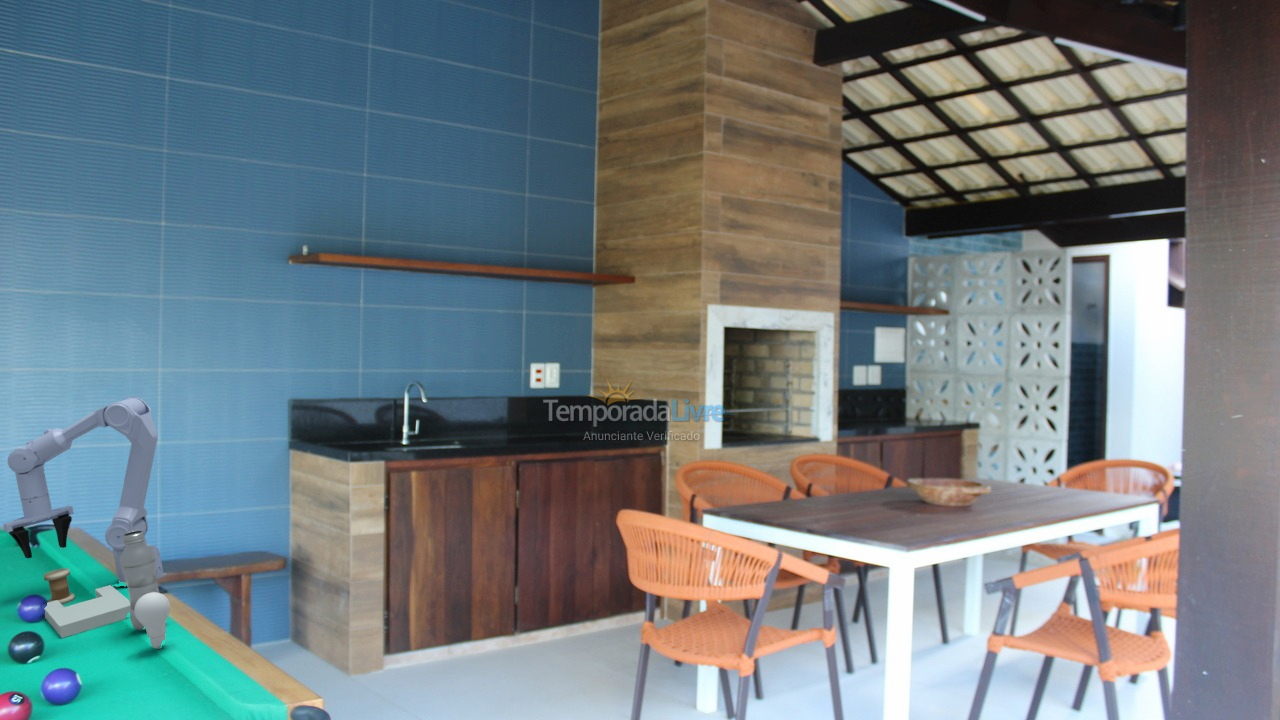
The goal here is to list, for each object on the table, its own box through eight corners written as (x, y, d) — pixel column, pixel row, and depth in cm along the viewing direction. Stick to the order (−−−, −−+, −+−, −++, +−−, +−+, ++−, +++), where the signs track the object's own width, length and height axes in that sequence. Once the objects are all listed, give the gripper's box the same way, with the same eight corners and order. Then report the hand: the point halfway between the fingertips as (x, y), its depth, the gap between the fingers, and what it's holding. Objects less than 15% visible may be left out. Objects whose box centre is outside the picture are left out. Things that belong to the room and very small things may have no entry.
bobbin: (80, 597, 230) (74, 568, 229) (61, 605, 225) (56, 576, 224) (62, 597, 231) (56, 568, 230) (43, 606, 226) (37, 576, 225)
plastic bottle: (154, 633, 198) (136, 537, 196) (125, 634, 200) (107, 539, 197) (175, 621, 204) (158, 527, 202) (147, 622, 206) (129, 529, 203)
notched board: (136, 615, 211) (133, 604, 211) (61, 638, 202) (59, 626, 202) (112, 595, 228) (110, 584, 228) (43, 615, 219) (40, 604, 219)
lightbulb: (135, 653, 188) (124, 598, 187) (163, 640, 193) (153, 586, 192) (156, 656, 185) (145, 600, 184) (184, 643, 191) (174, 588, 189)
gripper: (59, 487, 241) (70, 541, 242) (-7, 504, 229) (5, 560, 231) (72, 488, 236) (83, 543, 238) (6, 506, 225) (18, 563, 226)
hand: (46, 552), depth 234 cm, fingers open, 7 cm apart
